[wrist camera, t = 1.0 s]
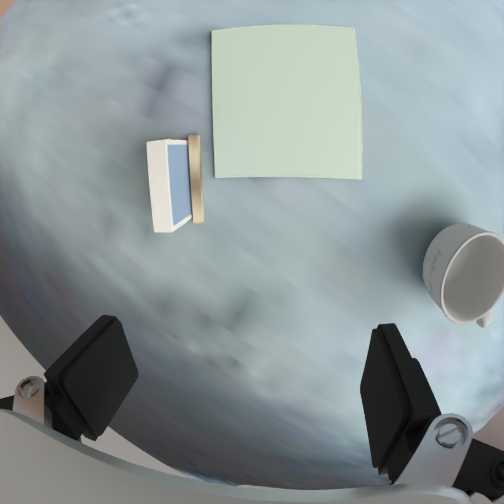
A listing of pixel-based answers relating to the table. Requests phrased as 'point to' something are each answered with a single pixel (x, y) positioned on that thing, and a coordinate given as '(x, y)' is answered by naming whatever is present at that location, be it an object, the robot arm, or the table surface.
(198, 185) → the holder
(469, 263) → the teacup
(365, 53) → the table surface
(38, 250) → the table surface
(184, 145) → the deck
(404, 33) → the table surface
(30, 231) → the table surface
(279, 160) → the mat
